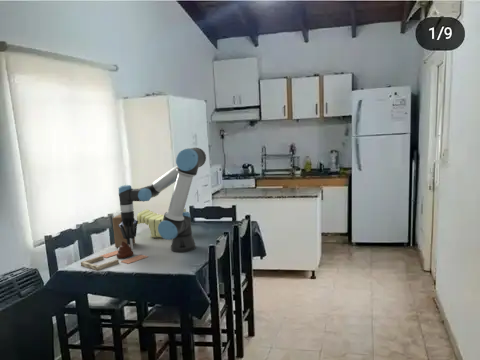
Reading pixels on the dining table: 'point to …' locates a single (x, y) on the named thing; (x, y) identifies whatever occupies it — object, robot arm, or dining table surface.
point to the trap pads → (126, 259)
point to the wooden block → (118, 231)
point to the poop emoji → (124, 251)
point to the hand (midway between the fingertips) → (130, 249)
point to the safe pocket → (98, 267)
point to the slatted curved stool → (151, 220)
